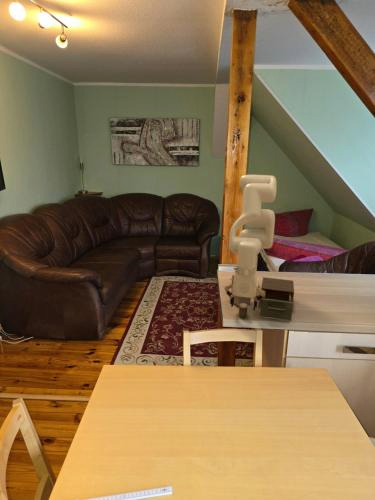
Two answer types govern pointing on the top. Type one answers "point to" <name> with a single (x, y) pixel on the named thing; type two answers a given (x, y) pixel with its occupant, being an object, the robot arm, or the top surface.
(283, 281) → the cabinet
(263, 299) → the drawer
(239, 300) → the perfume bottle
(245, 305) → the salt shaker
